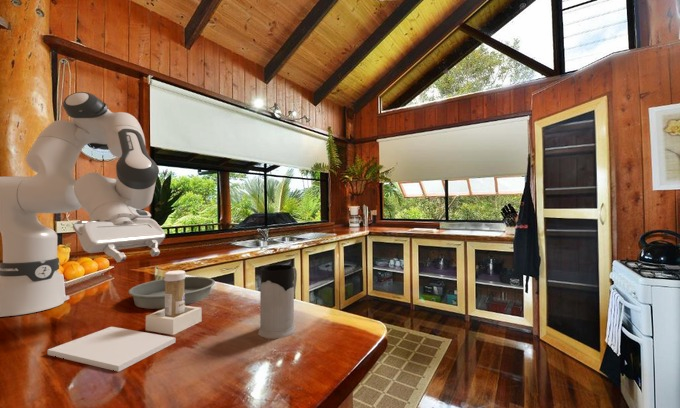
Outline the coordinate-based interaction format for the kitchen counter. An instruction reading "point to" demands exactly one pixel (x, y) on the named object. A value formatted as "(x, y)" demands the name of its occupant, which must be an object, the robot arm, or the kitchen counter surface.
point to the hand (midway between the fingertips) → (140, 257)
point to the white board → (112, 348)
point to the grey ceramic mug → (277, 301)
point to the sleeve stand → (173, 320)
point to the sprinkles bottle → (174, 293)
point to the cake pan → (155, 292)
